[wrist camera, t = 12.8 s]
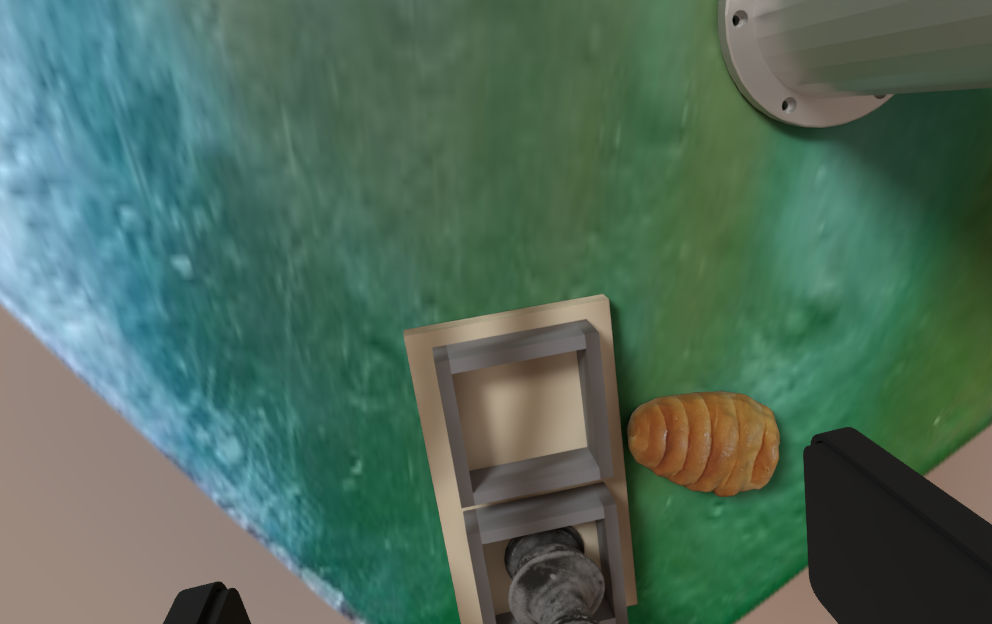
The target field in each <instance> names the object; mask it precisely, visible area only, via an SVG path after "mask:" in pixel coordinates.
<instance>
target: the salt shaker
mask: <svg viewBox="0 0 992 624" xmlns="http://www.w3.org/2000/svg"><path fill="white" fill-rule="evenodd" d="M584 552H585V551H584V544H583V541H582V539H581V537H580V535H579V533H578V532H577V531H576V530H575V529H574V528H573V527H571V526H566V527H561V528H557V529H552V530H547V531H543V532H538V533H533V534H529V535H524V536H519V537H515V538H512V539H511V540H510V541H509V543H508V546H507V548H506V550H505V557H504V562H505V567H506V571H507V573H508V574H509V576H510V578H511V579H512V583H511V585H510V588H509V595H508V600H509V606H510V610H511V612H512V614H513V616H514V618H515V619H516V620H517V621H518V622H519V623H520V624H600V623H599V622H598V621H597V620H595V619H594V618H593V614H594V613H595V612H596V610H597V609H598V608H599V606H600V604H601V601H602V599H603V596H604V590H605V584H604V577H603V575H602V573H601V571H600V569H599V567H598V566H597V564H596V563H595V562H594V561H593V560H592V559H590V558H589V557H587V556H586V555H585V554H584Z"/></svg>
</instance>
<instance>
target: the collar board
mask: <svg viewBox="0 0 992 624" xmlns="http://www.w3.org/2000/svg"><path fill="white" fill-rule="evenodd" d="M404 340H405V345H406V350H407V355H408V360H409V365H410V370H411V375H412V380H413V385H414V390H415V395H416V400H417V405H418V410H419V415H420V420H421V425H422V430H423V435H424V440H425V445H426V450H427V455H428V460H429V465H430V470H431V475H432V480H433V485H434V490H435V495H436V500H437V505H438V510H439V515H440V520H441V525H442V530H443V535H444V540H445V545H446V550H447V555H448V560H449V565H450V570H451V575H452V580H453V585H454V590H455V595H456V600H457V605H458V610H459V615H460V620H461V624H520V623H519V622H518V621H517V620H516V619H515V618H514V616H513V614H512V612H511V610H510V606H509V600H508V595H509V588H510V585H511V583H512V579H511V578H510V576H509V574H508V573H507V571H506V567H505V562H504V557H505V550H506V548H507V546H508V543H509V541H510V540H511V539H512V538H515V537H519V536H524V535H529V534H533V533H538V532H543V531H547V530H552V529H557V528H561V527H566V526H571V527H573V528H574V529H575V530H576V531H577V532H578V533H579V535H580V537H581V539H582V541H583V544H584V551H585V552H584V554H585V555H586V556H587V557H589V558H590V559H592V560H593V561H594V562H595V563H596V564H597V566H598V567H599V569H600V571H601V573H602V575H603V577H604V584H605V590H604V596H603V599H602V601H601V604H600V606H599V608H598V609H597V610H596V612H595V613H594V614H593V618H594V619H595V620H597V621H598V622H599V623H600V624H628V615H627V606H631V605H636V604H637V593H636V582H635V572H634V561H633V550H632V540H631V529H630V519H629V508H628V497H627V487H626V476H625V466H624V455H623V444H622V434H621V423H620V412H619V402H618V391H617V381H616V370H615V359H614V349H613V338H612V327H611V317H610V306H609V299H608V298H607V297H606V296H604V295H603V294H600V295H594V296H589V297H583V298H578V299H572V300H567V301H561V302H556V303H550V304H545V305H539V306H534V307H528V308H523V309H517V310H512V311H506V312H501V313H495V314H490V315H484V316H479V317H473V318H468V319H462V320H457V321H451V322H446V323H440V324H435V325H429V326H424V327H418V328H413V329H407V330H404Z"/></svg>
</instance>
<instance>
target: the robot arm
mask: <svg viewBox="0 0 992 624" xmlns="http://www.w3.org/2000/svg"><path fill="white" fill-rule="evenodd" d="M733 17H734V18H735V21H736V22H735V25H733V22H732V18H733ZM718 32H719V38H720V44H721V50H722V54H723V57H724V60H725V63H726V66H727V68H728V71H729V74H730V75H731V77H732V79H733V81H734V82H735V84H736V86H737V87H738V89H739V91H740V92H741V93H742V94H743V95H744V96H745V97H746V99H747V100H748V101H749V102H750V103H751V104H752V105H753V106H754V107H755V108H757V109H758V110H760V111H761V112H762V113H764V114H765V115H767V116H768V117H770V118H772V119H775V120H777V121H780V122H782V123H784V124H787V125H793V126H799V127H805V128H810V127H820V128H825V127H831V126H837V125H843V124H846V123H849V122H851V121H854V120H857V119H859V118H862V117H864V116H866V115H867V114H869V113H871V112H872V111H874V110H876V109H877V108H879V107H881V106H882V105H883V104H884V103H886V102H887V101H888V100H889V99H890V98H891V97H893V96H894V95H895V94H904V93H920V92H935V91H951V90H967V89H982V88H992V0H719V4H718ZM782 103H783V105H784V106H783V109H782ZM803 459H804V481H805V502H806V523H807V545H808V566H809V579H810V583H811V586H812V589H813V591H814V593H815V595H816V597H817V598H818V600H819V601H820V602H821V604H822V605H823V606H824V607H825V608H826V609H827V611H828V612H829V613H830V614H831V615H832V617H833V618H834V619H835V620H836V621H837V622H838V624H992V525H991V524H990V523H989V522H987V521H985V520H984V519H983V518H981V517H980V516H978V515H977V514H976V513H974V512H973V511H971V510H970V509H968V508H967V507H966V506H964V505H963V504H961V503H960V502H958V501H957V500H956V499H954V498H953V497H951V496H950V495H948V494H947V493H946V492H944V491H943V490H941V489H940V488H939V487H937V486H936V485H934V484H933V483H931V482H930V481H929V480H927V479H926V478H924V477H923V476H921V475H920V474H919V473H917V472H916V471H914V470H913V469H911V468H910V467H909V466H907V465H906V464H904V463H903V462H901V461H900V460H899V459H897V458H896V457H894V456H893V455H891V454H890V453H889V452H887V451H886V450H884V449H883V448H881V447H880V446H879V445H877V444H876V443H874V442H873V441H871V440H870V439H869V438H867V437H866V436H864V435H863V434H861V433H860V432H859V431H857V430H856V429H853V428H851V427H845V428H841V429H837V430H832V431H828V432H824V433H820V434H816V435H815V436H813V438H812V440H811V445H810V446H807V447H805V449H804V453H803ZM163 624H251V622H250V620H249V617H248V615H247V612H246V610H245V607H244V605H243V602H242V600H241V597H240V595H239V593H238V591H237V590H236V589H235V588H230V589H227V588H226V586H225V585H224V584H223V583H222V582H214V583H210V584H206V585H201V586H197V587H194V588H189V589H185V590H183V591H181V592H179V594H178V595H177V597H176V598H175V600H174V602H173V605H172V607H171V609H170V611H169V613H168V615H167V617H166V619H165V621H164V623H163Z"/></svg>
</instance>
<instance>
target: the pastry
mask: <svg viewBox="0 0 992 624" xmlns="http://www.w3.org/2000/svg"><path fill="white" fill-rule="evenodd" d="M627 436H628V447H629V450H630V451H631V453H632V455H633V457H634V459H635V461H636V462H637V463H640V464H642V465H643V466H645V467H647V468H649V469H651V470H652V471H653V472H654V473H655V474H656V475H657V476H662V477H665V478H668V479H669V480H670V481H672V482H674V483H676V484H678V485H683V486H684V487H686V488H688V489H690V490H693V491H703V492H711V491H713V492H714V493H715V494H716V495H717V496H720V497H728V496H733V495H736V494H737V493H738V492H739V491H742V492H743V491H749V490H752V489H761V488H762V487H763V486H765V485H766V484H767V483H768V482H769V480H770V478H771V477H772V475H773V473H774V470H775V468H776V465H777V463H778V460H779V444H780V435H779V430H778V426H777V424H776V421H775V418H774V414H773V412H772V411H771V409H770V408H768V407H767V406H765V405H763V404H761V403H759V402H757V401H755V400H753V399H752V398H750V397H749V396H747V395H744V394H740V393H732V392H725V391H716V392H694V393H688V394H680V395H671V396H664V397H658V398H655V399H653V400H651V401H649V402H647V403H644V404H641V405H640V406H638V407H637V408H636V410H635V411H634V412H633V413H632V415H631V417H630V421H629V423H628V427H627Z"/></svg>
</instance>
